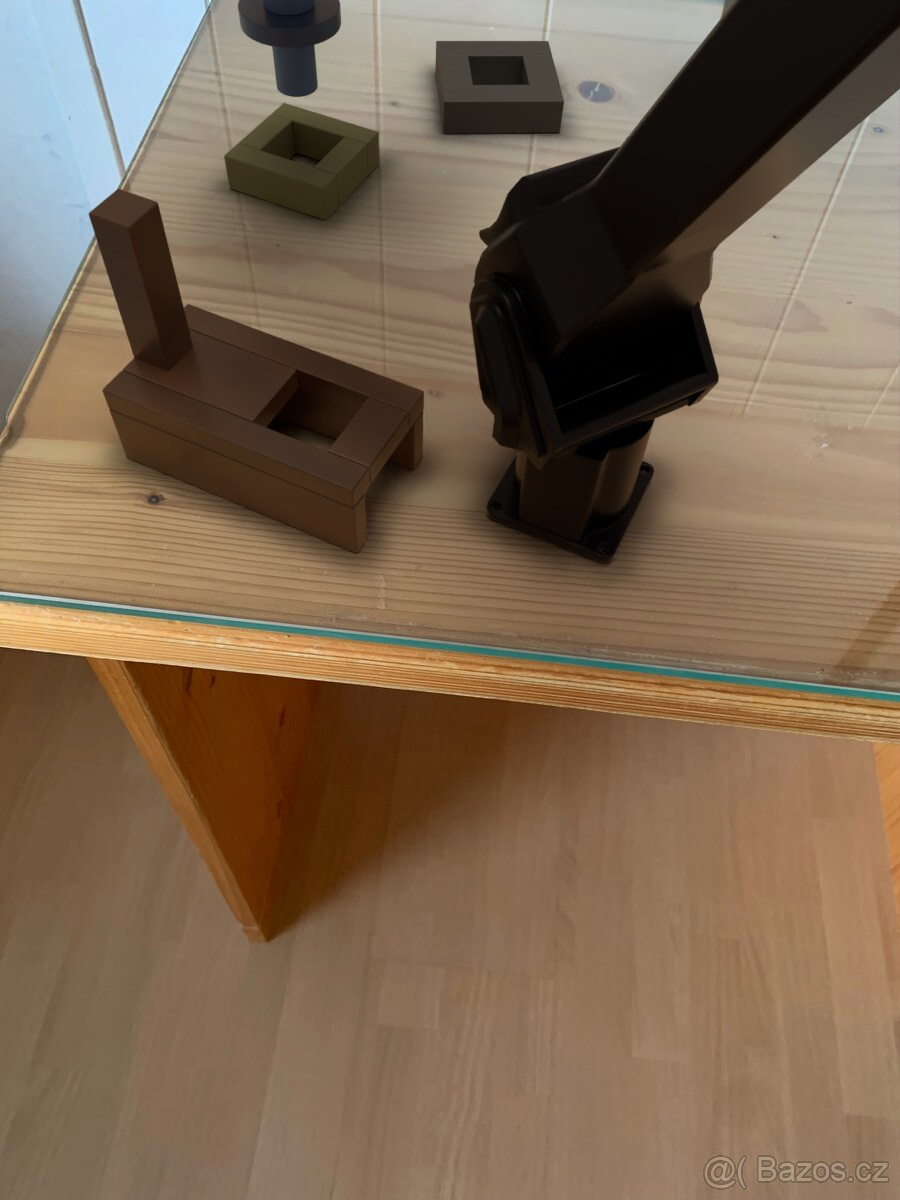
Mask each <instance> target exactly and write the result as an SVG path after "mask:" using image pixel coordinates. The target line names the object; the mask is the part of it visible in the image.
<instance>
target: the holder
mask: <svg viewBox="0 0 900 1200" xmlns="http://www.w3.org/2000/svg"><path fill="white" fill-rule="evenodd" d="M434 73H435V80H436V87H437V89H436V90H437V94H438V96H437V97H438V102H439V103H438V105H439V111H440V121H441V127H442V134H546V133H547V134H549V133H550V134H551V133H552V134H553V133H554V134H555V133H556V134H558V133H561V128H562V119H563V113H564V106H565V100H564V95H563V92H562V88H561V84H560V79H559V76H558V73H557V69H556V65H555V61H554V57H553V53H552V50H551V46H550V42H549V40H436V41H435V72H434Z"/></svg>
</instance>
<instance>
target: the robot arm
mask: <svg viewBox="0 0 900 1200" xmlns="http://www.w3.org/2000/svg"><path fill="white" fill-rule="evenodd" d="M721 17H722V16H721ZM721 17H720V19H719V20H718V21H717V23H716V24H715V26H714V27H713V28H712V29H711V30H710V32H708V34H707V36H706V37H705V38H704V39H703V40H702V42H701V43H700V45H699V46H698V47H697V48H696V50H695V51H694V52H693V53H692V54H691V56H690V57H689V58H688V60H686V62H685V63H684V65H683V66H682V67H681V68H680V70H679V71H678V72H677V74H676V75H675V76H674V78H673V79H672V80H671V81H670V83H669V84H668V85H667V87H665V89H664V90H663V91H662V93H661V94H660V95H659V97H658V98H657V99H656V100H655V102H654V103H653V104H652V106H651V107H650V108H649V109H648V111H646V113H645V114H644V116H643V117H642V118H641V119H640V121H639V122H638V123H637V124H636V126H635V127H634V129H633V130H632V131H631V132H630V133H629V135H628V136H627V137H626V138H625V140H624V141H623V142H622V143H621V145H620V146H617V147H614V148H610V149H607V150H604V151H601V152H597V153H595V154H591V155H588V156H584V157H582V158H579V159H578V158H577V159H574V160H571V161H569V162H565V163H562V164H558V165H556V166H553V167H549V168H546V169H542V170H540V171H539V170H538V171H536V172H533V173H530V174H527V175H524V176H521V178H519V179H518V181H517V182H516V183H515V184H514V185H513V186H512V188H511V189H510V190H508V192H507V194H506V197H505V199H504V201H503V204H502V206H501V209H500V212H499V214H498V216H497V218H496V219H495V221H494V222H493V223H492V224H491V225H490V226H488V227H485V228H483V229H480V230H479V231H478V235H479V239H480V240H481V241H482V242H483V243H484V244H485V246H487V247H486V248H485V249H484V250H483V251H482V252H481V254H480V256H479V259H478V262H477V263H476V264H477V265H476V267H475V270H474V278H473V286H472V289H471V293H470V300H469V304H468V305H469V315H470V324H471V332H472V338H473V347H474V354H475V361H476V362H475V363H476V369H477V370H476V371H477V377H478V383H479V384H478V385H479V390H480V393H481V400H482V402H483V404H484V405H485V407H486V408H487V409H488V410H489V411H490V413H491V414H492V415H493V427H492V435H491V436H492V438H493V439H494V441H495V442H496V443H497V445H499V446H500V447H504V448H508V449H513V450H516V451H517V453H516V454H515V456H514V458H513V460H512V461H511V462H510V465H509V467H508V468H507V470H506V471H505V473H504V475H503V476H502V477H501V480H500V481H499V483H498V484H497V486H496V488H495V489H494V491H493V493H492V494H491V496H490V498H489V500H488V501H487V503H486V508H485V512H486V515H487V517H488V518H490V519H491V520H493V521H496V522H500V523H502V524H504V525H507V526H509V527H512V528H514V529H517V530H519V531H522V532H524V533H527V534H530V535H532V536H534V537H537V538H540V539H542V540H544V541H547V542H550V543H551V544H555V545H557V546H560V547H562V548H565V549H567V550H570V551H571V552H572V551H573V552H575V553H577V554H580V555H582V556H585V557H588V558H590V559H593V560H595V561H597V562H600V563H609V562H612V561H613V560H614V559H615V557H616V555H617V552H618V550H619V549H620V547H621V544H622V543H623V540H624V538H625V536H626V534H627V531H628V529H629V527H630V525H631V523H632V521H633V519H634V517H635V515H636V513H637V511H638V508H639V507H640V504H641V502H642V500H643V499H644V496H645V494H646V492H647V490H648V488H649V486H650V483H651V482H652V479H653V477H654V474H655V468H654V466H653V465H652V464H651V463H649V462H648V461H644V460H643V459H644V456H645V453H646V451H647V447H648V444H649V440H650V437H651V433H652V430H653V427H654V424H655V420H656V419H657V418H660V417H662V416H665V415H668V414H670V413H672V412H674V411H677V410H679V409H682V408H684V407H686V406H687V407H691V406H694V405H695V404H698V403H700V402H701V401H702V400H704V398H705V397H706V396H707V395H708V394H709V393H710V392H711V391H712V390H713V389H714V388H715V386H716V385H718V383H719V380H720V375H719V371H718V367H717V364H716V360H715V356H714V353H713V349H712V346H711V341H710V337H709V334H708V331H707V328H706V323H705V319H704V316H703V311H702V308H701V304H699V299H700V298H701V297H702V296H703V297H704V294H705V293H706V292H707V291H708V290H709V288H710V286H711V282H712V279H713V267H714V266H713V265H714V252H715V251H716V250H717V248H718V247H719V246H720V245H721V244H722V243H723V242H725V240H727V238H729V237H730V236H731V235H732V234H733V233H735V232H736V231H737V230H738V229H739V228H740V227H742V226H743V225H744V224H746V222H747V221H749V219H751V218H752V217H753V216H754V215H755V214H756V213H758V212H759V211H760V210H761V209H763V208H764V207H765V206H766V205H767V204H768V203H769V202H771V201H772V200H773V199H774V198H775V197H777V195H779V194H780V193H781V192H782V191H783V190H784V189H785V188H787V187H788V186H790V185H791V183H793V182H794V181H795V180H796V179H797V178H798V177H799V176H801V175H802V174H803V173H804V172H806V171H807V170H808V169H809V168H810V167H812V166H813V164H815V163H816V162H817V161H819V159H820V158H822V157H823V156H824V155H825V154H826V153H827V152H829V151H830V150H831V149H832V148H833V147H834V146H835V145H837V144H838V143H839V142H840V141H841V140H843V139H844V138H845V137H846V136H847V135H848V134H849V133H851V132H852V131H854V130H855V128H856V127H858V126H859V125H860V124H861V123H863V121H864V120H866V119H867V118H868V117H869V116H870V115H872V114H873V113H874V112H875V111H876V110H877V109H878V108H879V107H881V106H882V105H883V104H884V103H885V102H887V101H888V100H889V99H890V98H892V96H894V95H895V94H896V93H897V92H898V91H900V0H735V1H734V3H733V4H732V5H731V6H730V8H729V9H728V10H727V11H726V13H725V14H724V15H723V17H722V18H721ZM703 297H702V298H703ZM495 508H497V509H499V510H497V509H495ZM603 550H605V551H607V552H603Z"/></svg>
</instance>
